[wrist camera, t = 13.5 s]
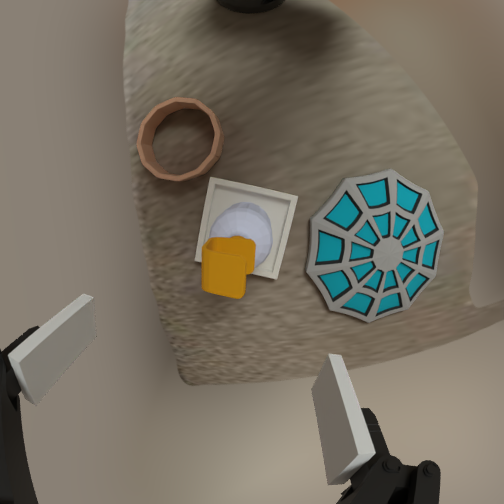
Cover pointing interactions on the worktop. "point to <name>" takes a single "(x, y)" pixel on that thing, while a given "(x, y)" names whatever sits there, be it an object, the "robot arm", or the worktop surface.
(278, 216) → the tray
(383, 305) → the decorative platform
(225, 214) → the soap bottle
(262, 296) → the worktop surface
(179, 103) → the holder ring
